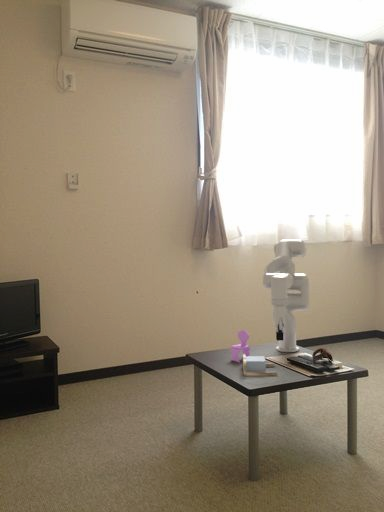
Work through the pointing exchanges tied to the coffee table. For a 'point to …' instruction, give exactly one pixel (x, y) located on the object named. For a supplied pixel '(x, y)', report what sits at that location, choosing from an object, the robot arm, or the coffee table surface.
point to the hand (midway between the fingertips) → (279, 339)
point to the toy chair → (240, 346)
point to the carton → (255, 364)
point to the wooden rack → (258, 372)
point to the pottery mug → (322, 354)
